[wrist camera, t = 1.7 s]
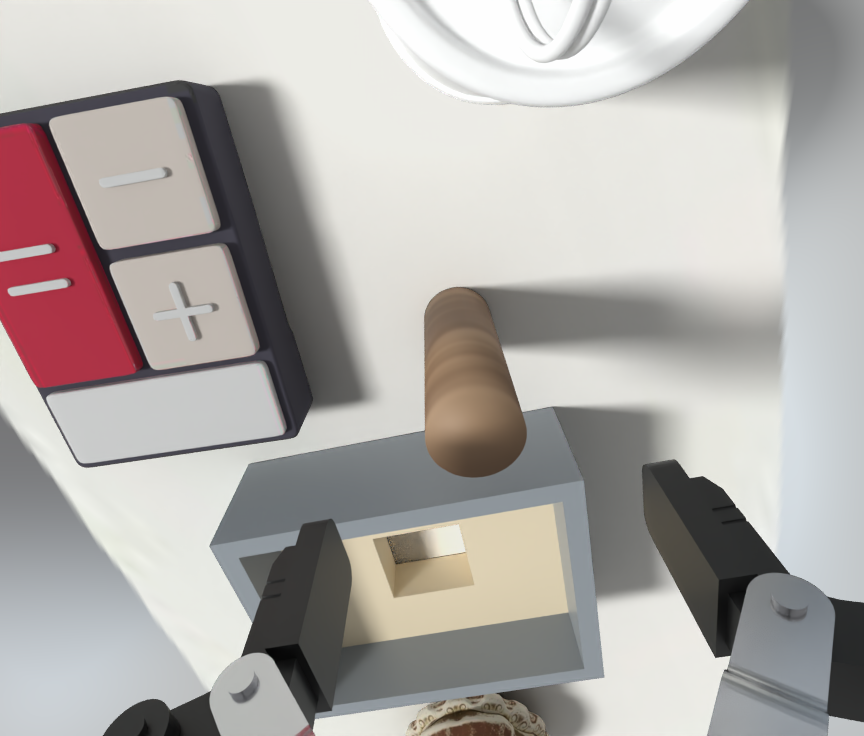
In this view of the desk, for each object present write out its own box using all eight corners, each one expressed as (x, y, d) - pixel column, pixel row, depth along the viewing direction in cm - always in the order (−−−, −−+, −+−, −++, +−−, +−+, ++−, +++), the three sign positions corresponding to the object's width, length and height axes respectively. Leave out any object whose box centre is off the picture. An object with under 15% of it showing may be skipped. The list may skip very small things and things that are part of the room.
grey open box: (248, 464, 29) (209, 546, 24) (552, 406, 28) (584, 480, 22) (324, 626, 35) (307, 719, 30) (575, 586, 34) (604, 677, 29)
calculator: (179, 74, 18) (297, 447, 24) (224, 85, 21) (315, 402, 28) (-122, 131, 18) (68, 480, 24) (-24, 132, 22) (118, 432, 28)
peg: (417, 295, 25) (414, 403, 16) (484, 280, 24) (519, 384, 15) (432, 354, 26) (436, 485, 17) (495, 341, 26) (532, 467, 17)
